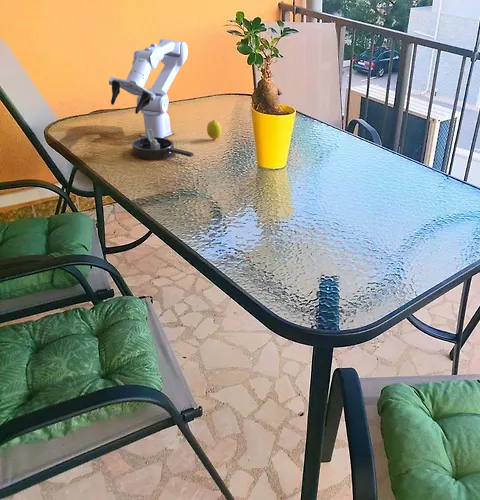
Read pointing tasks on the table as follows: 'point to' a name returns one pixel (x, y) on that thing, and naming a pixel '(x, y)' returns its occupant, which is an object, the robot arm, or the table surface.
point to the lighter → (152, 140)
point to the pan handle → (181, 152)
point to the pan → (144, 150)
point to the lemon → (214, 129)
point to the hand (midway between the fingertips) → (124, 107)
